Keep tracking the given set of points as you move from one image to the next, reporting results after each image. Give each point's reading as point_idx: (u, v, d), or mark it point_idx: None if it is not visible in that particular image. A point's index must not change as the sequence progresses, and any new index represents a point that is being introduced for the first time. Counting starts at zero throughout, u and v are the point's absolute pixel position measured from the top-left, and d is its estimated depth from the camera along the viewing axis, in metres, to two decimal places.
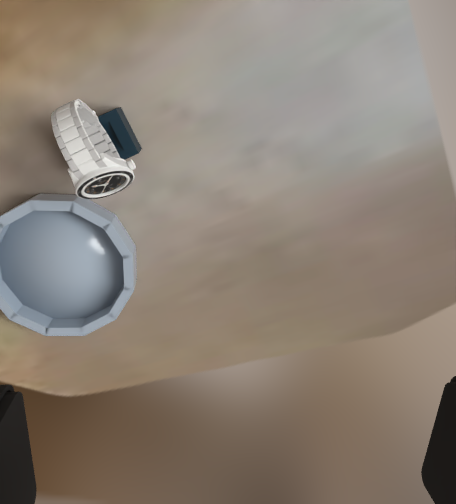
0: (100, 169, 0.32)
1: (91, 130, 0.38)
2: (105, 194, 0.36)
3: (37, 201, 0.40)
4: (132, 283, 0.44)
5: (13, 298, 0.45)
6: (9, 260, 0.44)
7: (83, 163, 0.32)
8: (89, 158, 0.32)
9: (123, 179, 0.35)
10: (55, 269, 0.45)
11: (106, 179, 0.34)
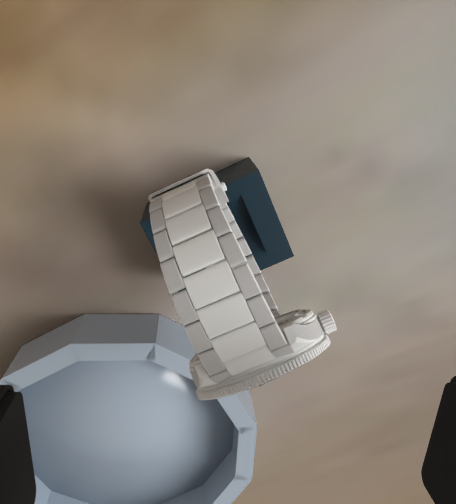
0: (278, 362, 0.12)
1: None
2: None
3: (85, 345, 0.20)
4: (250, 469, 0.25)
5: None
6: (28, 427, 0.25)
7: (241, 356, 0.12)
8: (260, 346, 0.12)
9: None
10: (110, 437, 0.25)
11: None
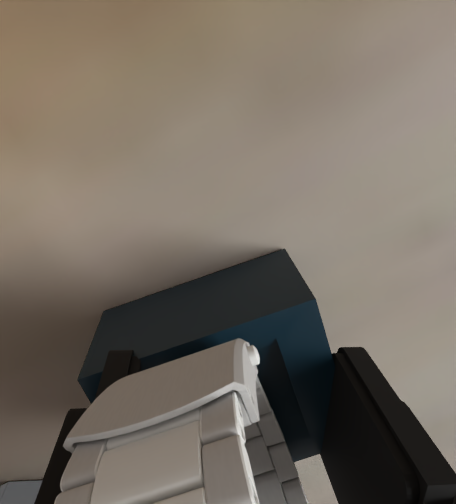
0: None
1: None
2: None
3: None
4: None
5: None
6: None
7: None
8: None
9: None
10: None
11: None
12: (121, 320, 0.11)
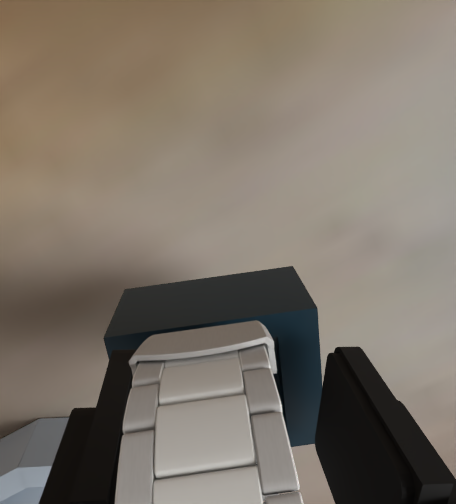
0: None
1: None
2: None
3: (36, 469, 0.16)
4: None
5: None
6: None
7: None
8: None
9: None
10: None
11: None
12: (142, 298, 0.13)
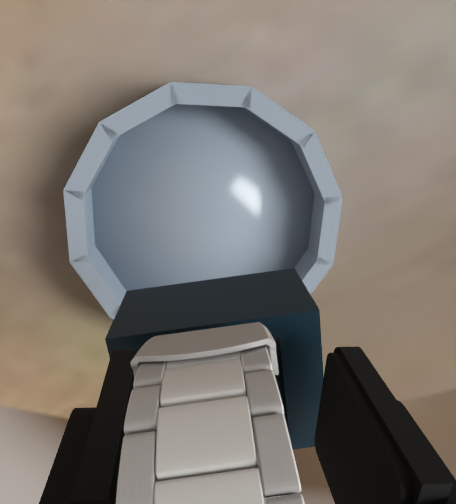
0: None
1: None
2: None
3: (184, 84, 0.21)
4: (332, 251, 0.25)
5: (114, 279, 0.25)
6: (110, 210, 0.25)
7: None
8: None
9: None
10: (190, 227, 0.25)
11: None
12: (144, 300, 0.13)
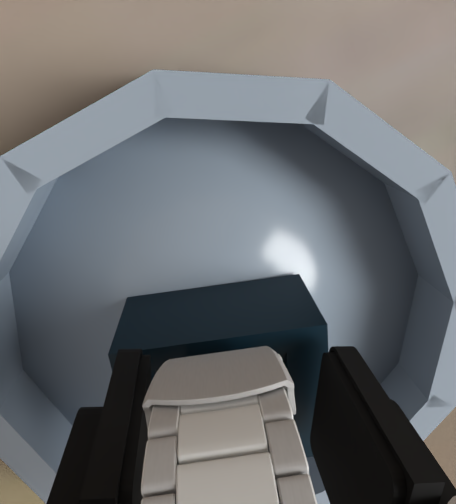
0: None
1: None
2: None
3: (184, 76, 0.09)
4: None
5: (58, 429, 0.14)
6: (48, 310, 0.13)
7: None
8: None
9: None
10: None
11: None
12: (146, 308, 0.12)
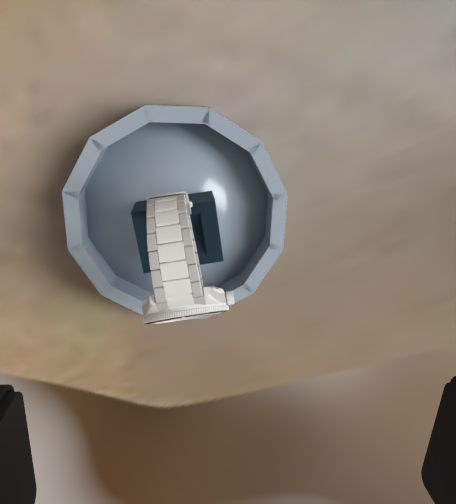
0: (195, 307, 0.22)
1: None
2: (175, 320, 0.26)
3: (156, 107, 0.26)
4: (282, 238, 0.30)
5: (104, 265, 0.31)
6: (100, 207, 0.30)
7: (176, 296, 0.21)
8: (188, 292, 0.21)
9: None
10: None
11: None
12: (144, 203, 0.29)
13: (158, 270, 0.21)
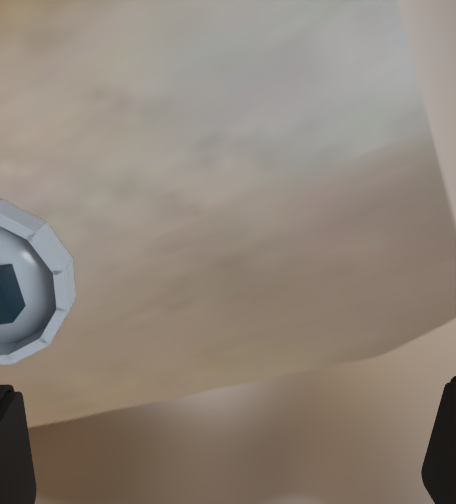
0: None
1: None
2: None
3: None
4: (66, 303, 0.38)
5: None
6: None
7: None
8: None
9: None
10: None
11: None
12: None
13: None
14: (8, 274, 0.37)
